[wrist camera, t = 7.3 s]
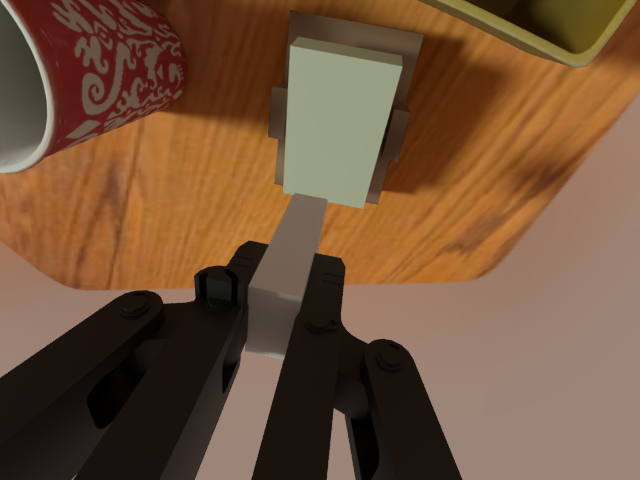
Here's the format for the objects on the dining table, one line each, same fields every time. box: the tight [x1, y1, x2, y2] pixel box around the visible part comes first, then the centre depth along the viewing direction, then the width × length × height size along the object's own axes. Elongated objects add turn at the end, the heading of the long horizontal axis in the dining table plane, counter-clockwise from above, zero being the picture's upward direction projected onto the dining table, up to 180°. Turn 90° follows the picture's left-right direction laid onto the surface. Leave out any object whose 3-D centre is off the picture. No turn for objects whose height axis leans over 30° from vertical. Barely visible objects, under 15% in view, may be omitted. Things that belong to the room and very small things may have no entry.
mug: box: [0, 0, 187, 174], centre depth 18 cm, size 13×9×14 cm
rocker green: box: [283, 37, 403, 209], centre depth 20 cm, size 9×6×2 cm, turn 171°
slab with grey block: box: [268, 10, 424, 205], centre depth 22 cm, size 11×8×5 cm
